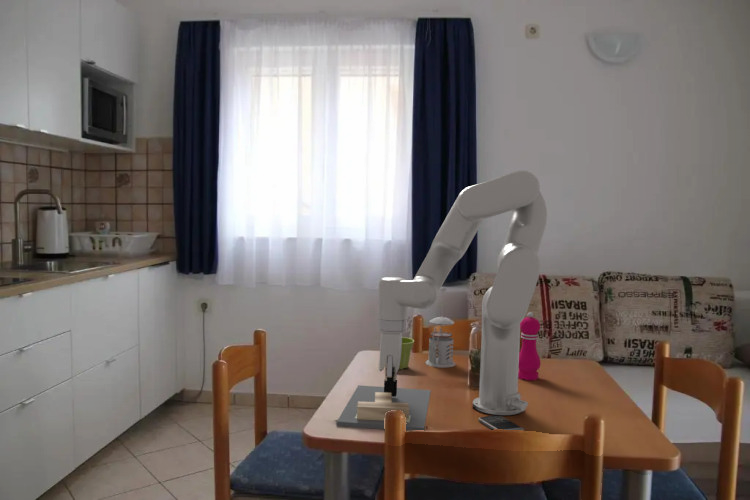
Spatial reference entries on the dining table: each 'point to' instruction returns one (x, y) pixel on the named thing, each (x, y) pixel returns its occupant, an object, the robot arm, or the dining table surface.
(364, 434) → the dining table surface
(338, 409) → the dining table surface
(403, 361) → the plant pot
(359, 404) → the t block
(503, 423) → the cell phone
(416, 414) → the mat
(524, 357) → the pepper mill
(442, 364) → the french press
